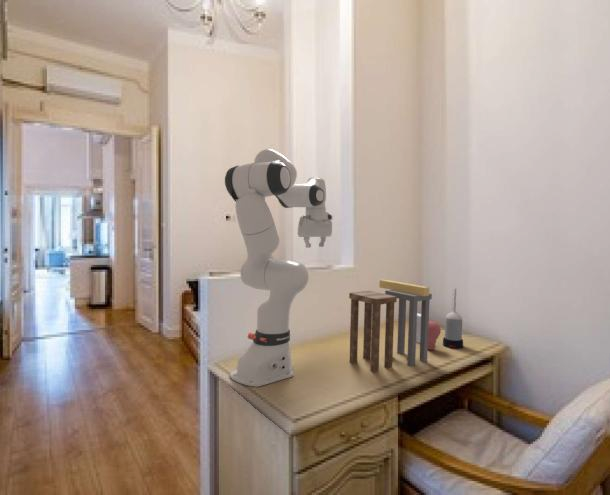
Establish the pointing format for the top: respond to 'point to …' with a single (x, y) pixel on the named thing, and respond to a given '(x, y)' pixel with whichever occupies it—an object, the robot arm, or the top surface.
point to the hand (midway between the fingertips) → (314, 247)
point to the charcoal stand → (412, 324)
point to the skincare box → (418, 328)
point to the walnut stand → (373, 319)
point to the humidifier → (453, 329)
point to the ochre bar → (404, 287)
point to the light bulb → (433, 334)
